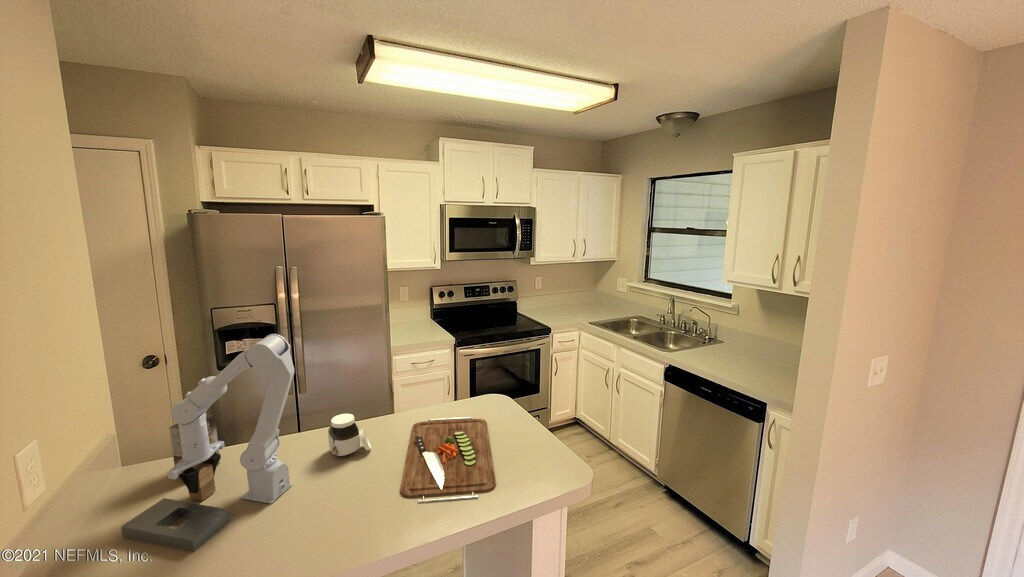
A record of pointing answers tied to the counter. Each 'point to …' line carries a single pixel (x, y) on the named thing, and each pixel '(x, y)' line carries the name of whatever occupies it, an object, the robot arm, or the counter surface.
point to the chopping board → (448, 459)
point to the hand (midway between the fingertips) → (201, 486)
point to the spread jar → (346, 436)
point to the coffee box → (177, 440)
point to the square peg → (204, 482)
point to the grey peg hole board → (186, 536)
